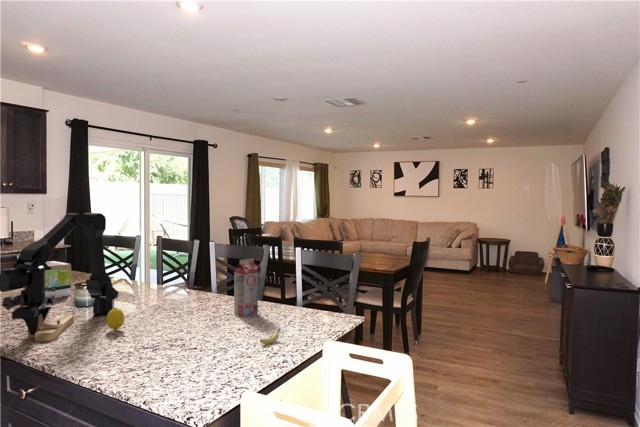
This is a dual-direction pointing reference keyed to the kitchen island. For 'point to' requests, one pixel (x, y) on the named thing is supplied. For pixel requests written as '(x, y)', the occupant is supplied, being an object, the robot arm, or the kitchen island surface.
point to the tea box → (58, 279)
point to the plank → (54, 332)
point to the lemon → (115, 318)
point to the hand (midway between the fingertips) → (35, 332)
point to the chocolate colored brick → (45, 326)
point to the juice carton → (246, 288)
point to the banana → (270, 339)
